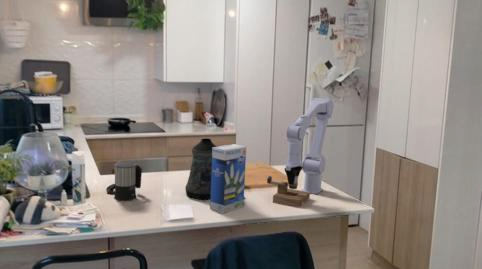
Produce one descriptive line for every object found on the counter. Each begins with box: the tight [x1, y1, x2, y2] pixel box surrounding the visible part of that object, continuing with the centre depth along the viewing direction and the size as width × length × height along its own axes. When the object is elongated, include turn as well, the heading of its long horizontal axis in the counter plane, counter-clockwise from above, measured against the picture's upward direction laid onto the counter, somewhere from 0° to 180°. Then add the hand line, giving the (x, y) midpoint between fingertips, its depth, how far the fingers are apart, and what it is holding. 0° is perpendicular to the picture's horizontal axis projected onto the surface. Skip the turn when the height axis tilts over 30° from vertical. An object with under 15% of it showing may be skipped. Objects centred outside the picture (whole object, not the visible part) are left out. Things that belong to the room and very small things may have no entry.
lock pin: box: [266, 175, 284, 186], centre depth 215 cm, size 2×8×3 cm, turn 64°
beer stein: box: [185, 138, 217, 201], centre depth 215 cm, size 16×19×25 cm
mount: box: [272, 180, 311, 208], centre depth 213 cm, size 14×12×7 cm
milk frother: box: [105, 161, 143, 202], centre depth 208 cm, size 14×16×15 cm
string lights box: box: [209, 143, 247, 214], centre depth 197 cm, size 13×8×26 cm, turn 139°
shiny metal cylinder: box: [288, 175, 299, 190], centre depth 212 cm, size 4×4×6 cm
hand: (292, 183), depth 212 cm, fingers closed on shiny metal cylinder, 4 cm apart
